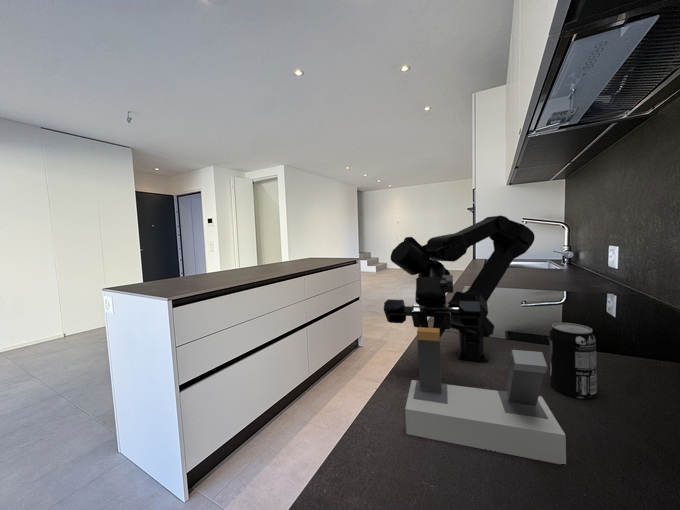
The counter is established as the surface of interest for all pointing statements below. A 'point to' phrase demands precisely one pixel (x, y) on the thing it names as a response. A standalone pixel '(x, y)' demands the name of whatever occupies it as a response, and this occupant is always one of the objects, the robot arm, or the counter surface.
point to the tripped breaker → (429, 358)
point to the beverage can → (573, 360)
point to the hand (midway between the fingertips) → (431, 352)
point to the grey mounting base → (485, 421)
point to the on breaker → (525, 377)
